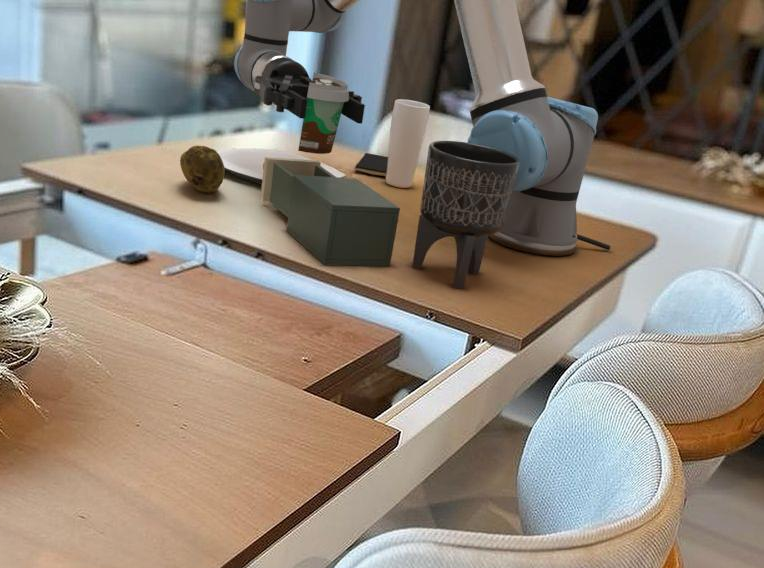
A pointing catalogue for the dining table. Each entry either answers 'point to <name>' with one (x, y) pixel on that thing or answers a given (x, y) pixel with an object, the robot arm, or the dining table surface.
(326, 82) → the food container
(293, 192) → the cabinet
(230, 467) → the dining table surface
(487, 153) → the planter
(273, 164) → the drawer
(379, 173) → the smartphone
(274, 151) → the plate
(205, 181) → the potato
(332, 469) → the dining table surface
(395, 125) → the drinking glass
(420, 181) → the dining table surface
